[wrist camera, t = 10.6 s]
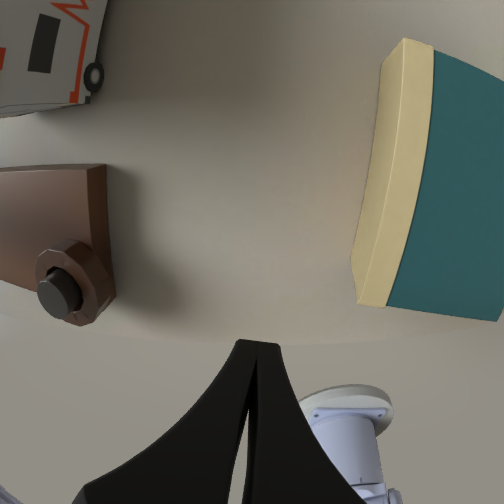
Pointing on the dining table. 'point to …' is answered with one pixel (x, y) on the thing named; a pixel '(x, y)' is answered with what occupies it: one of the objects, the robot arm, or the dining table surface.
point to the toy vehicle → (48, 54)
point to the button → (59, 293)
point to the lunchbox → (434, 189)
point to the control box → (57, 231)
